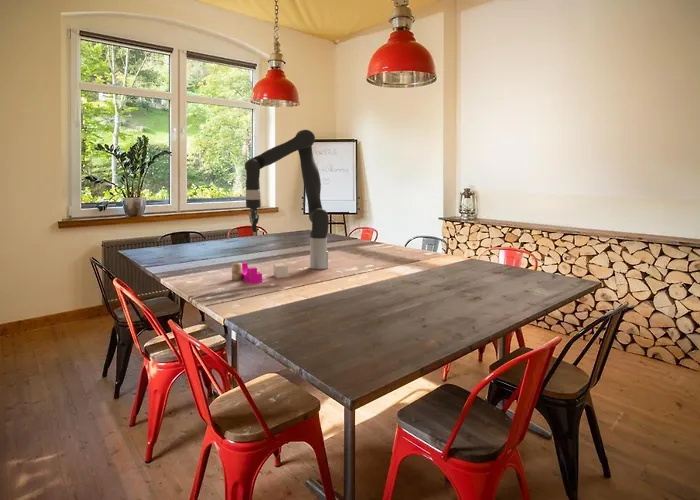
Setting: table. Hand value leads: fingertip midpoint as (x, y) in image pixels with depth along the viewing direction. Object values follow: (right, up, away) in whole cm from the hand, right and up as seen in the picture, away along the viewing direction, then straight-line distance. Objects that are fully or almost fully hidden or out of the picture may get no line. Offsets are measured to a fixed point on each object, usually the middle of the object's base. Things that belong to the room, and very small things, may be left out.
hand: (254, 231), depth 240 cm
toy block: (+1, -25, -14) cm, 28 cm away
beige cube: (+15, -23, -5) cm, 28 cm away
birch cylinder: (-5, -24, -14) cm, 29 cm away
